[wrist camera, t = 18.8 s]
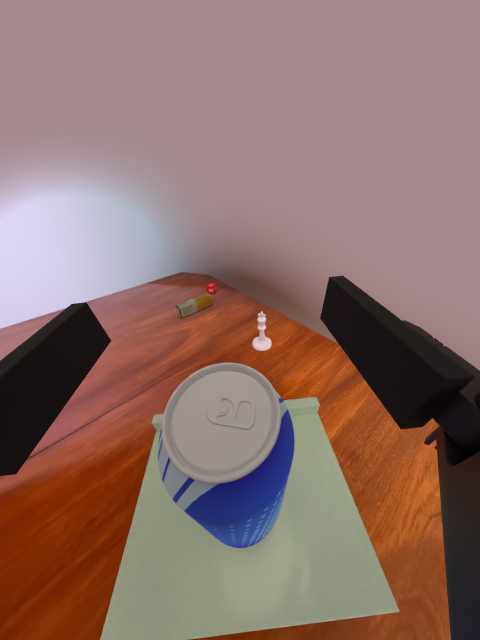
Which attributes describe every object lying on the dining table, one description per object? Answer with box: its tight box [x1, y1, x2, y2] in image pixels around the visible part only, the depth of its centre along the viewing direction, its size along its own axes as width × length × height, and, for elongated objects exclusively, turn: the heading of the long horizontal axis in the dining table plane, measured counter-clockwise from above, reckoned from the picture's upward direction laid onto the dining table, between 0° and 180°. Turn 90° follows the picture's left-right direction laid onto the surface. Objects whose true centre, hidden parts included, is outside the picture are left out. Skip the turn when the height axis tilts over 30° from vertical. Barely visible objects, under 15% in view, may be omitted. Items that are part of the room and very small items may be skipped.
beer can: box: [158, 363, 295, 548], centre depth 15 cm, size 8×8×16 cm
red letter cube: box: [207, 283, 217, 294], centre depth 74 cm, size 3×3×3 cm
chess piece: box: [252, 312, 272, 351], centre depth 46 cm, size 5×5×10 cm
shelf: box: [100, 397, 399, 640], centre depth 22 cm, size 16×22×10 cm
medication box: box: [176, 293, 212, 319], centre depth 63 cm, size 12×3×4 cm, turn 128°
